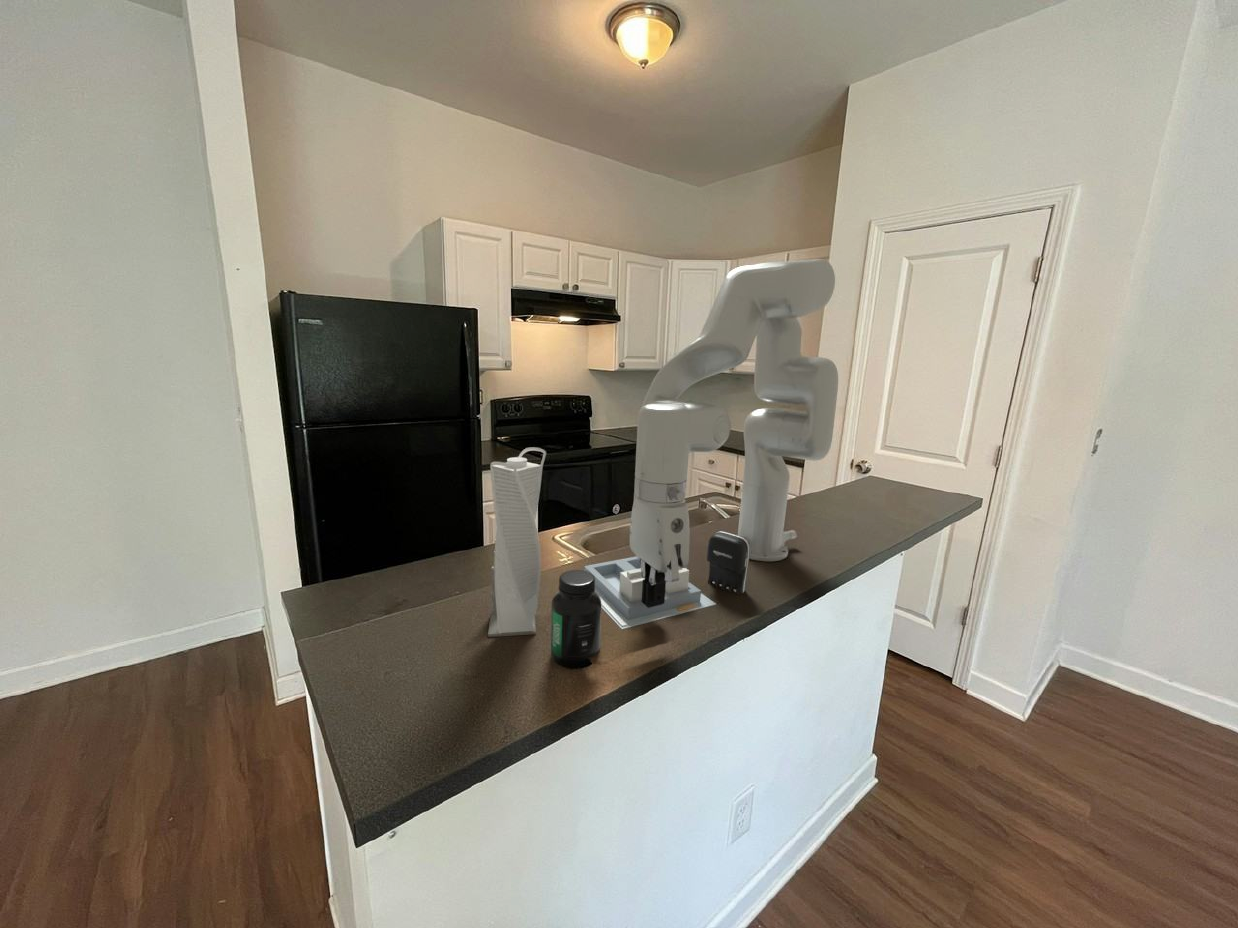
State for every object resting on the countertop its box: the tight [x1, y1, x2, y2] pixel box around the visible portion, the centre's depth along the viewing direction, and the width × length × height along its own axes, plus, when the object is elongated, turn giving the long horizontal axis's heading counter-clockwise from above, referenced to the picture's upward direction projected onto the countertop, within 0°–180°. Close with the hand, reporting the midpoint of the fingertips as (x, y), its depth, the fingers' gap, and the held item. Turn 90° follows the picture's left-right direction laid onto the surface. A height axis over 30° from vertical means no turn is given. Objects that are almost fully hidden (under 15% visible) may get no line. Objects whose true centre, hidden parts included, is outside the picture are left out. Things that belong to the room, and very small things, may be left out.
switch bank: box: [583, 556, 717, 630], centre depth 85 cm, size 18×20×4 cm
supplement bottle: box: [550, 569, 602, 670], centre depth 67 cm, size 7×7×12 cm
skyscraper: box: [487, 446, 547, 638], centre depth 72 cm, size 8×8×28 cm
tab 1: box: [619, 568, 644, 603], centre depth 79 cm, size 4×4×6 cm
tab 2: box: [665, 566, 690, 594], centre depth 82 cm, size 4×4×6 cm
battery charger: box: [706, 531, 750, 595], centre depth 86 cm, size 7×4×11 cm, turn 50°
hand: (652, 603), depth 75 cm, fingers closed
